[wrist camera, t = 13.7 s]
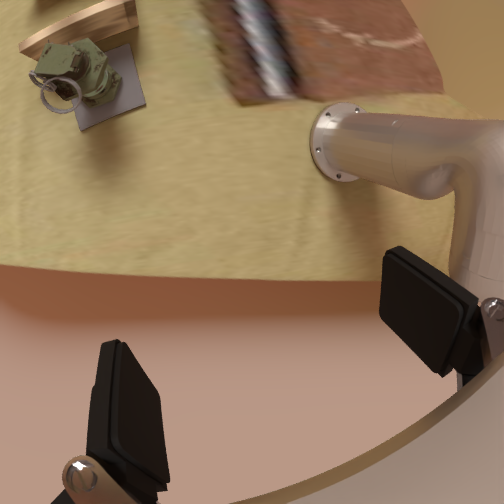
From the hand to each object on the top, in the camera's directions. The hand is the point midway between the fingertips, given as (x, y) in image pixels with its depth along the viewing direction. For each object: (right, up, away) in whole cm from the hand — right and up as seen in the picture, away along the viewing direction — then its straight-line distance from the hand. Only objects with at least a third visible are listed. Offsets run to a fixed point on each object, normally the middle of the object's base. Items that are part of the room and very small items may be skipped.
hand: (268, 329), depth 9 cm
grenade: (-20, +23, +18) cm, 35 cm away
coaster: (-19, +23, +19) cm, 35 cm away
